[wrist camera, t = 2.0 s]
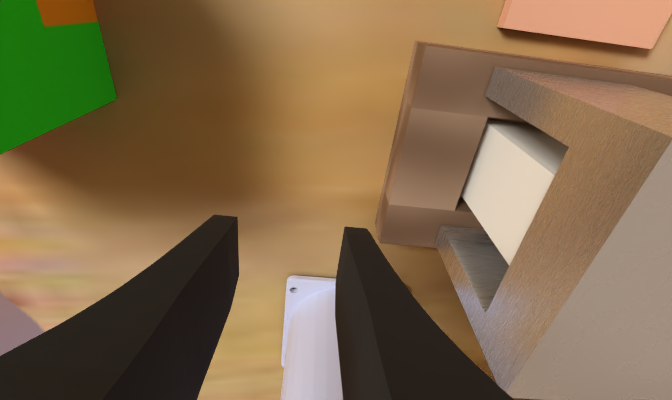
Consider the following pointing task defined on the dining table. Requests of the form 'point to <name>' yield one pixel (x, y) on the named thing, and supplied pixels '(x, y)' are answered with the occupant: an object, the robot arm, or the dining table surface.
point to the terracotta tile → (591, 19)
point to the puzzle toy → (49, 67)
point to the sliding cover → (580, 249)
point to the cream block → (510, 180)
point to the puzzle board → (457, 133)
